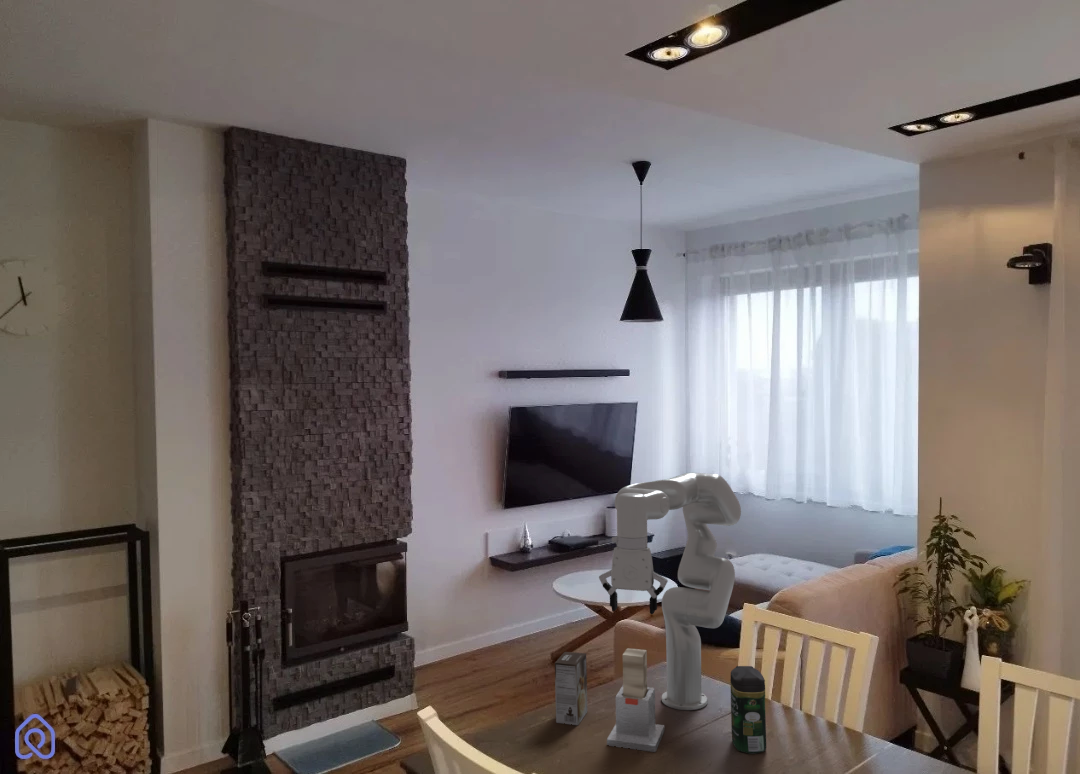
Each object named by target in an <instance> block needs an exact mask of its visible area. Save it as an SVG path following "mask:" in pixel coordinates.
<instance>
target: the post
mask: <svg viewBox="0 0 1080 774" xmlns="http://www.w3.org/2000/svg"><path fill="white" fill-rule="evenodd" d="M647 651H648V650H646V649H638V648H629V647H628V648H626V649H625V650H624V652H623V653H622V686H623V696H631V697H639V698H645V696H646V694H647V687H648V663H647V662H648V661H647V660H648V659H647V658H648V657H647V656H648V654H647V653H648V652H647Z"/></svg>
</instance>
